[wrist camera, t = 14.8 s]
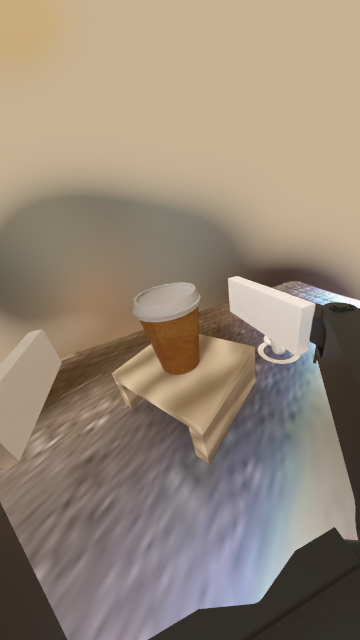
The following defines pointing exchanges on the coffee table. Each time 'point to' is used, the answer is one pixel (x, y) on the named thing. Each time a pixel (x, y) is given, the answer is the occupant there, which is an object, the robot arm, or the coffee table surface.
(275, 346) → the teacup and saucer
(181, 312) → the disposable coffee cup
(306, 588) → the robot arm
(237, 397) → the maple shelf
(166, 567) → the coffee table surface
